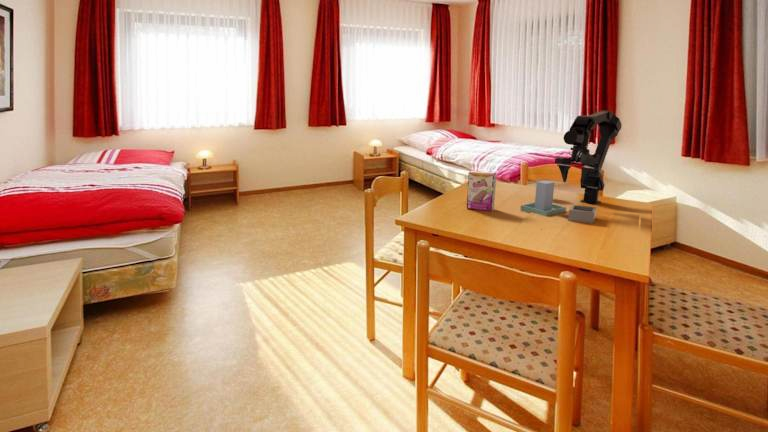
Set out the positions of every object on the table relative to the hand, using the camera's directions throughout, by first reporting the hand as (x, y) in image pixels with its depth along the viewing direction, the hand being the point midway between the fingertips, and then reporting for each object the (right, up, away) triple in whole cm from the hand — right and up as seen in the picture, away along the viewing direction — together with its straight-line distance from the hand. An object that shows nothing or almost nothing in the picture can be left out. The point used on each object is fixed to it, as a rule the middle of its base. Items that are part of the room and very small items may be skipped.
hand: (573, 182), depth 198 cm
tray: (-13, -12, 0) cm, 18 cm away
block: (-13, -11, 0) cm, 17 cm away
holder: (-2, -16, -13) cm, 21 cm away
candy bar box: (-39, -11, +4) cm, 41 cm away
